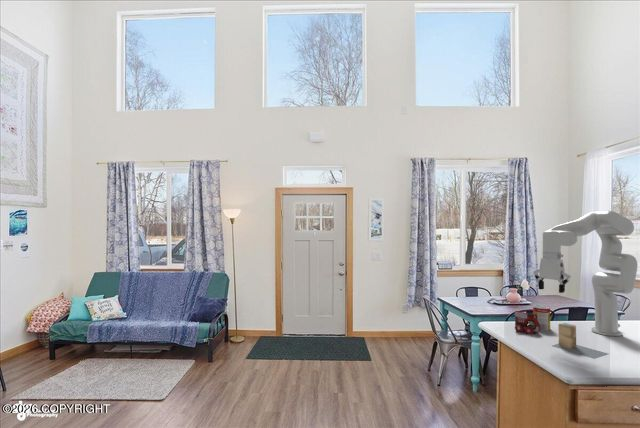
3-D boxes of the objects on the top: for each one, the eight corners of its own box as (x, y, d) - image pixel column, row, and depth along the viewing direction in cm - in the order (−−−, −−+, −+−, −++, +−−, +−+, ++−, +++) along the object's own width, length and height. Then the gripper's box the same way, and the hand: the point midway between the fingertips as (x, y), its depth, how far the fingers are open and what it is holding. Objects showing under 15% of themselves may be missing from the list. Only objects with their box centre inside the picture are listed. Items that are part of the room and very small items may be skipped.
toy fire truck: (536, 336, 184) (536, 316, 184) (511, 330, 194) (511, 311, 194) (542, 334, 188) (542, 314, 188) (517, 328, 198) (517, 309, 198)
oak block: (565, 343, 172) (564, 322, 172) (576, 347, 167) (575, 325, 168) (558, 345, 170) (558, 323, 170) (570, 348, 165) (569, 326, 165)
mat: (565, 342, 175) (565, 341, 175) (609, 354, 159) (609, 353, 159) (551, 346, 169) (551, 345, 169) (594, 359, 153) (594, 358, 153)
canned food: (547, 327, 200) (546, 305, 200) (552, 331, 192) (552, 308, 193) (531, 326, 202) (531, 304, 202) (536, 330, 194) (536, 308, 194)
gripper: (574, 257, 171) (574, 293, 171) (538, 254, 187) (538, 287, 186) (565, 257, 168) (565, 294, 167) (529, 254, 183) (529, 288, 183)
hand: (551, 290), depth 177 cm, fingers open, 9 cm apart
